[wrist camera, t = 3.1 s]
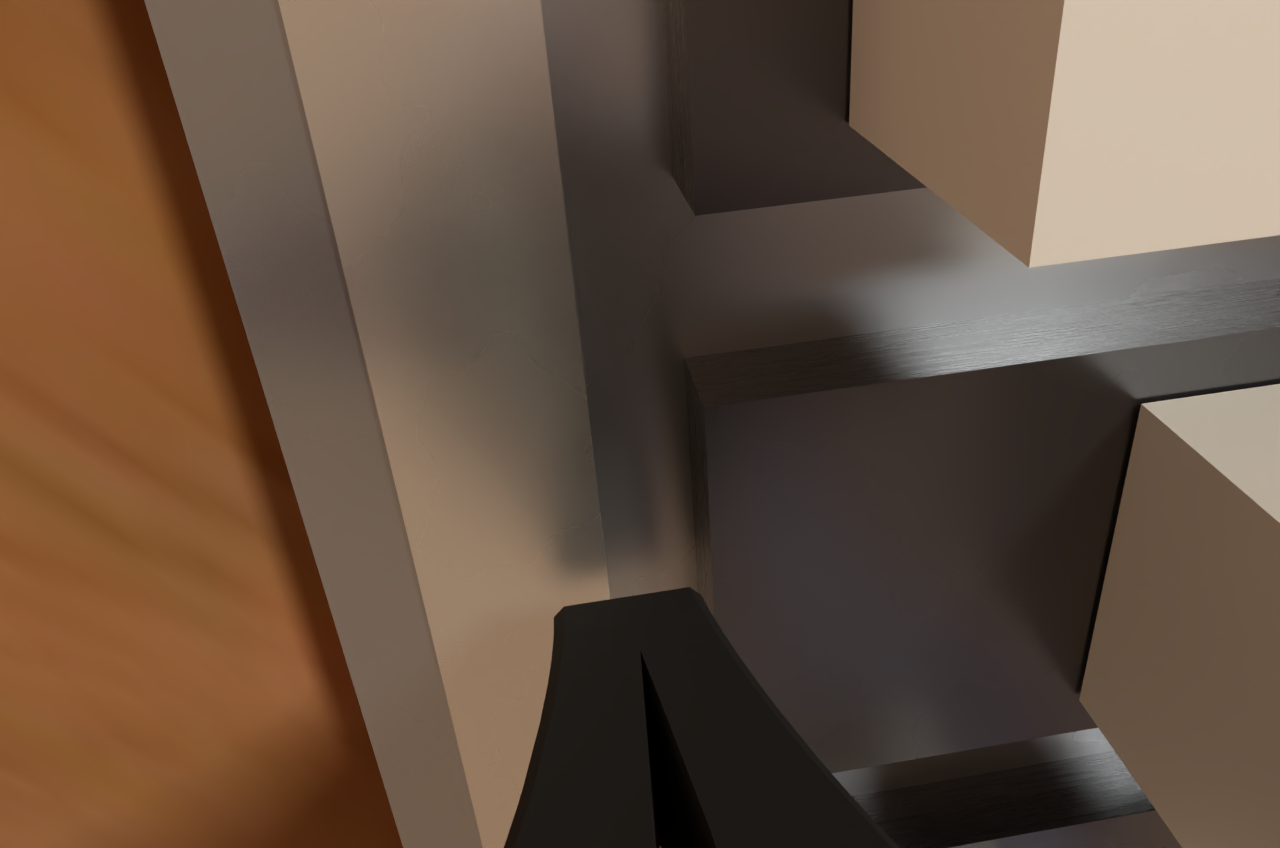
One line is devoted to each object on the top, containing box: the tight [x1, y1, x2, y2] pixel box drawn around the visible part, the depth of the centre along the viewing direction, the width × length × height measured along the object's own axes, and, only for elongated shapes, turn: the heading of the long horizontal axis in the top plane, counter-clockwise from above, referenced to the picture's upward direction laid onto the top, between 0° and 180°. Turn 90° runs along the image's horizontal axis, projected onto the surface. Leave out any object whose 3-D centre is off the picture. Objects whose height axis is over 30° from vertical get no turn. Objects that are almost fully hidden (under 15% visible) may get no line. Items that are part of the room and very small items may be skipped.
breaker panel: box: [144, 0, 1280, 848], centre depth 12 cm, size 20×17×2 cm
